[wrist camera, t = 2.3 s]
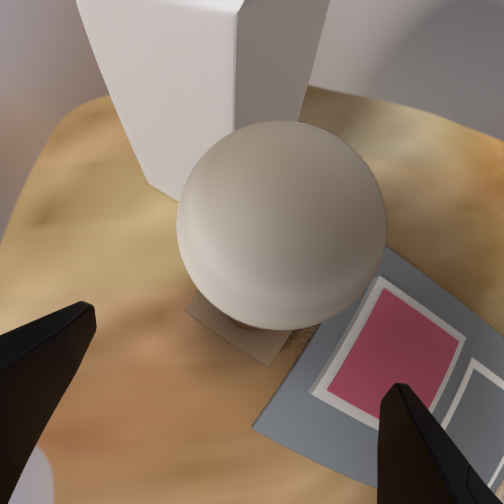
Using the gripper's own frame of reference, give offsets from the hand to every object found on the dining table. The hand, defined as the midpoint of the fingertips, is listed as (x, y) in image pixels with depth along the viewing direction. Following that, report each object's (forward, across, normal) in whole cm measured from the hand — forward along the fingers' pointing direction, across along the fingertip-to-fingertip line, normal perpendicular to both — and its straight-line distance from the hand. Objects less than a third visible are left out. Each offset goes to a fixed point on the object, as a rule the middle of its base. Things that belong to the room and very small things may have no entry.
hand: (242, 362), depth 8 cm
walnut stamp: (+9, 0, +5) cm, 11 cm away
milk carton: (+15, +4, -1) cm, 16 cm away
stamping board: (+6, -15, +8) cm, 18 cm away
